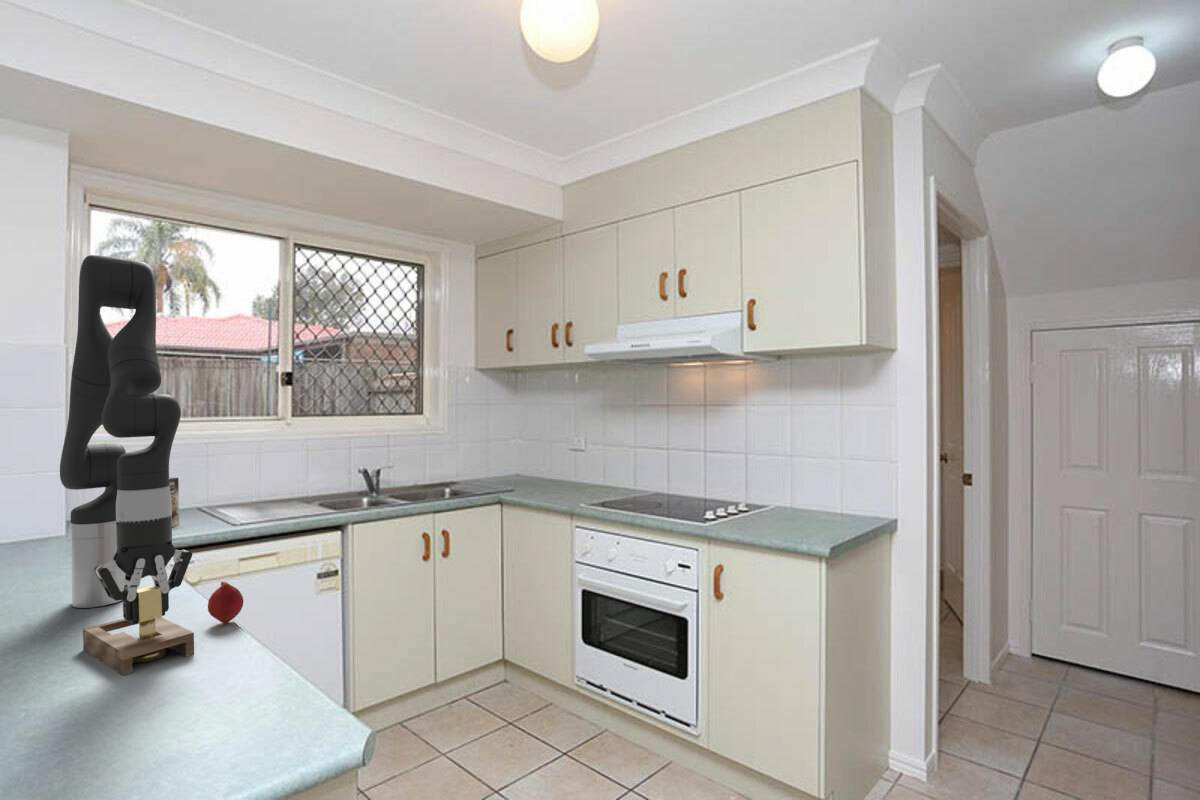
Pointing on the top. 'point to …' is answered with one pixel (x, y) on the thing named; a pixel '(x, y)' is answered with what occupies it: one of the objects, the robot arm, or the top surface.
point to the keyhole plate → (134, 642)
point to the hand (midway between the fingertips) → (146, 618)
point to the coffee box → (174, 500)
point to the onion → (225, 603)
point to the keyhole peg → (148, 618)
